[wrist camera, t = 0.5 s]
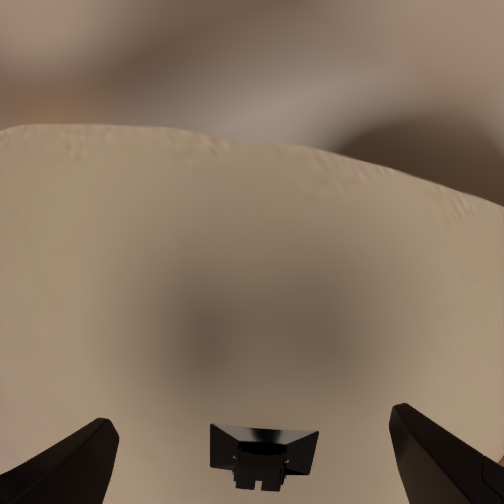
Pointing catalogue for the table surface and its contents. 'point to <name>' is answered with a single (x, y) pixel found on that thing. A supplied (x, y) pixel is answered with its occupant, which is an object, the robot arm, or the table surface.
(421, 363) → the table surface
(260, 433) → the black barn door light
